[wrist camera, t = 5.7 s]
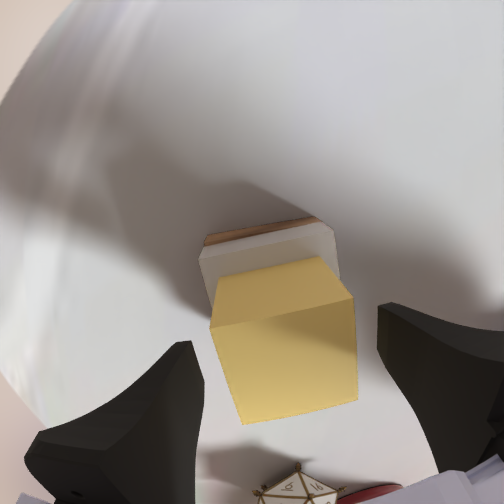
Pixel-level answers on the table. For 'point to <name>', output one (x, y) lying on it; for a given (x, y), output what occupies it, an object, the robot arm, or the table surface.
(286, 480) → the game die
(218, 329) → the mustard cube
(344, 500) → the canister
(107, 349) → the table surface
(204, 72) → the table surface
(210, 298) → the tower top slab
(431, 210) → the table surface
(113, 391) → the table surface
